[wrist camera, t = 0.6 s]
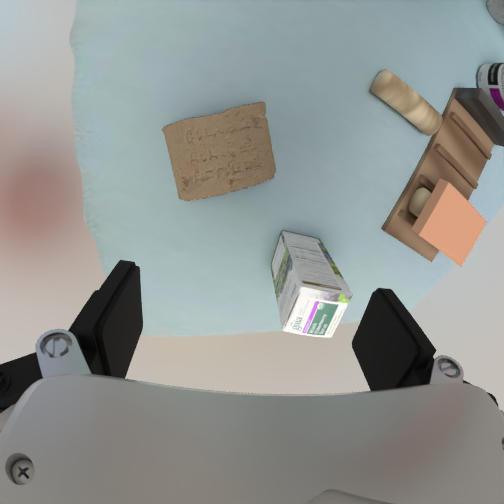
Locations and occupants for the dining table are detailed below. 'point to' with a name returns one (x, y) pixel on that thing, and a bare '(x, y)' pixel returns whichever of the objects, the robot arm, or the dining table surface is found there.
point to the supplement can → (493, 82)
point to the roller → (406, 102)
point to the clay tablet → (220, 152)
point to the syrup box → (308, 286)
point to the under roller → (419, 200)
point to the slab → (449, 222)
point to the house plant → (496, 10)
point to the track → (450, 159)
